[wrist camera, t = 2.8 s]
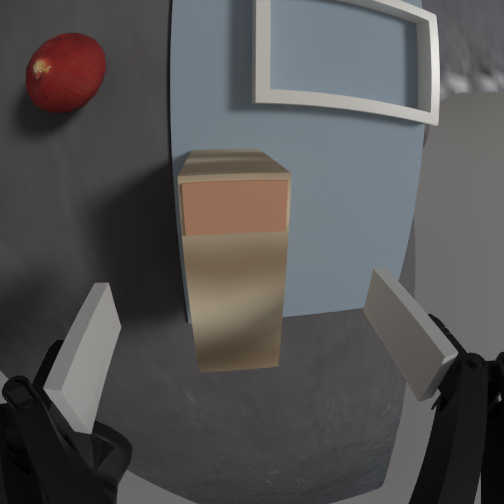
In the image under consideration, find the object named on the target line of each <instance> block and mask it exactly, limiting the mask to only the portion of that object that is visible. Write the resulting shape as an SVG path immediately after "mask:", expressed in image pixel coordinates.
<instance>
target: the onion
mask: <svg viewBox="0 0 504 504" xmlns="http://www.w3.org/2000/svg"><path fill="white" fill-rule="evenodd" d="M105 70H106V61H105V53H104V51H103V49H102V48H101V47H100V46H99V44H98V43H97V42H96V41H95V39H93V38H90V37H88V36H86V35H83V34H79V33H65V34H61V35H58V36H56V37H54V38H52V39H50V40H48V41H46V42H45V43H44V44H43V45H42V46H41V47H40V48H39V49H38V50H37V51H36V52H35V53H34V54H33V56H32V58H31V60H30V62H29V64H28V66H27V68H26V85H27V91H28V95H29V97H30V98H31V100H32V101H33V102H34V104H35V105H36V106H37V107H39V108H41V109H44V110H46V111H48V112H52V113H68V112H70V111H73V110H75V109H77V108H79V107H82V106H84V105H85V104H86V103H87V102H88V101H89V100H90V99H91V98H92V97H93V96H94V95H95V94H96V92H97V91H98V89H99V87H100V85H101V84H102V82H103V78H104V74H105Z"/></svg>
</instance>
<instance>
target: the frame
mask: <svg viewBox="0 0 504 504" xmlns="http://www.w3.org/2000/svg"><path fill="white" fill-rule="evenodd" d="M337 1H342V2H346V3H350V4H354V5H358V6H362V7H366V8H369V9H373V10H376V11H380V12H383V13H386V14H389V15H392V16H395V17H398V18H401V19H404V20H407V21H409V22H412V23H415V24H416V30H417V48H418V107H417V109H413V108H409V107H404V106H400V105H395V104H390V103H385V102H380V101H375V100H369V99H363V98H357V97H350V96H343V95H335V94H327V93H318V92H307V91H295V90H279V89H270V51H271V0H252V104H283V105H300V106H313V107H324V108H334V109H343V110H351V111H358V112H365V113H372V114H378V115H384V116H390V117H395V118H400V119H406V120H410V121H415V122H420V123H424V124H430V125H436V126H438V119H439V94H440V68H439V44H438V30H437V19H436V15H434V14H432V13H430V12H428V11H425V10H423V9H421V8H418V7H416V6H414V5H411V4H409V3H406V2H403V1H401V0H337Z"/></svg>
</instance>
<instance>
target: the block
mask: <svg viewBox="0 0 504 504" xmlns="http://www.w3.org/2000/svg"><path fill="white" fill-rule="evenodd" d="M291 176H292V173H291V172H289V171H288V170H287V169H285V168H284V167H283V166H281V165H280V164H279V163H277V162H276V161H275V160H273V159H272V158H271V157H269V156H268V155H266V154H265V153H264V152H262V151H261V150H259V149H258V148H244V149H209V150H191V152H190V154H189V156H188V158H187V160H186V161H185V163H184V165H183V167H182V169H181V171H180V173H179V175H178V176H177V177H178V193H179V207H180V220H181V231H182V242H183V253H184V262H185V271H186V280H187V289H188V297H189V305H190V312H191V320H192V327H193V334H194V340H195V347H196V353H197V359H198V366H199V372H217V371H233V370H246V369H257V368H267V367H276V366H278V363H279V353H280V342H281V331H282V319H283V307H284V294H285V281H286V266H287V251H288V235H289V218H290V198H291Z"/></svg>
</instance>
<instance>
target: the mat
mask: <svg viewBox="0 0 504 504" xmlns="http://www.w3.org/2000/svg"><path fill="white" fill-rule="evenodd" d="M401 1H403V2H406V3H409V4H411V5H414V6H416V7H418V8H421V9H422V2H421V0H401ZM270 89H279V90H295V91H307V92H318V93H327V94H335V95H343V96H350V97H357V98H363V99H369V100H375V101H380V102H385V103H390V104H395V105H400V106H404V107H409V108H413V109H417V107H418V48H417V30H416V24H415V23H412V22H409V21H407V20H404V19H401V18H398V17H395V16H392V15H389V14H386V13H383V12H380V11H376V10H373V9H369V8H366V7H362V6H358V5H354V4H350V3H346V2H342V1H337V0H271V51H270ZM170 111H171V144H172V165H173V182H174V197H175V210H176V221H177V232H178V243H179V252H180V261H181V270H182V278H183V287H184V294H185V302H186V309H187V316H188V323H192V320H191V312H190V305H189V297H188V289H187V280H186V271H185V262H184V253H183V242H182V231H181V220H180V207H179V193H178V177H177V176H178V175H179V173H180V171H181V169H182V167H183V165H184V163H185V161H186V160H187V158H188V156H189V154H190V152H191V150H209V149H244V148H258V149H259V150H261V151H262V152H264V153H265V154H266V155H268V156H269V157H271V158H272V159H273V160H275V161H276V162H277V163H279V164H280V165H281V166H283V167H284V168H285V169H287V170H288V171H289V172H291V173H292V176H291V198H290V218H289V235H288V251H287V266H286V281H285V294H284V307H283V317H289V316H299V315H308V314H317V313H326V312H334V311H342V310H350V309H357V308H364V305H365V301H366V297H367V293H368V289H369V285H370V281H371V276H372V272H373V269H377V268H386V269H387V270H388V271H389V272H390V273H391V274H392V275H393V277H394V278H395V279H396V280H397V281H399V277H400V273H401V269H402V265H403V261H404V257H405V253H406V248H407V244H408V239H409V234H410V229H411V224H412V219H413V214H414V208H415V202H416V195H417V189H418V182H419V175H420V167H421V158H422V149H423V138H424V125H425V124H424V123H420V122H415V121H410V120H406V119H400V118H395V117H390V116H384V115H378V114H372V113H365V112H358V111H351V110H343V109H334V108H324V107H313V106H300V105H283V104H252V0H173V6H172V25H171V56H170Z"/></svg>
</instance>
